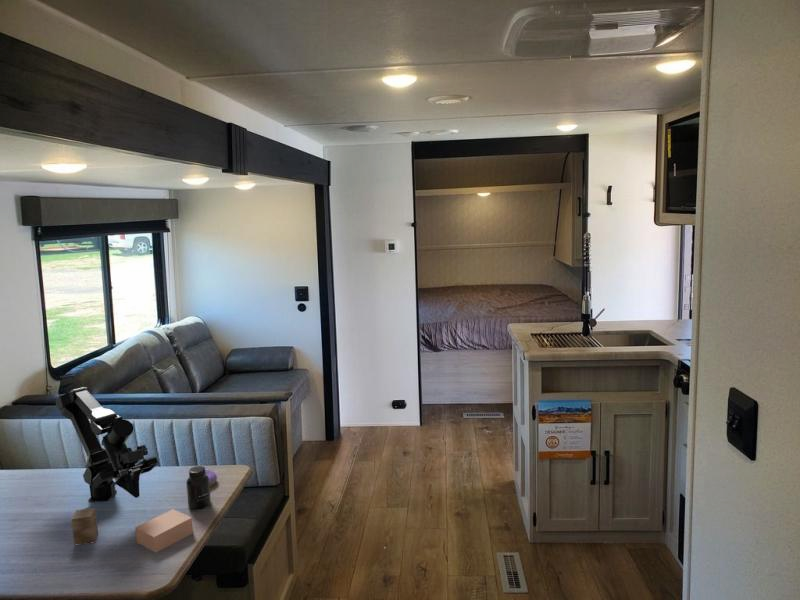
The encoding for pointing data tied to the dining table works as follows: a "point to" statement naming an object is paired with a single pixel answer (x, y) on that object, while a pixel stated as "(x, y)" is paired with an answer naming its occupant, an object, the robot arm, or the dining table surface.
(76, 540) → the walnut block
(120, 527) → the dining table surface
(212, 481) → the donut
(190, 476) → the supplement bottle
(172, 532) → the terracotta block
